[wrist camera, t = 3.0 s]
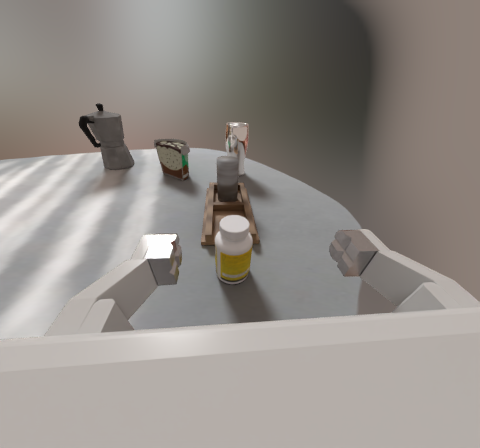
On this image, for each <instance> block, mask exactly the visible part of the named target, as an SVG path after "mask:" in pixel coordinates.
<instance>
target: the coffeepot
mask: <svg viewBox="0 0 480 448" xmlns="http://www.w3.org/2000/svg"><path fill="white" fill-rule="evenodd" d="M96 106H97V108H98V110H99V111H97V112H94V113H91V114H88V115H86V116H82V117H80V121H79V126H80V128H81V129H82V130H83V132H84V133H85V134H86V136H87V137H88V139H89V140H90V141H91V143H92V144H93V145H94V147H100V148H101V153H102V158H103V163H104V167H106V168H108V169H113V170H118V169H125V168H129V167H131V166H133V165H134V160H133V158H132V156H131V154H130V152H129V150H128V148H127V146H126V145H125V144H124V141H123V139H124V134H123V128H122V121H121V116H120V115H119V114H116V113H110V112H106V111H103V105H102V104H96ZM87 123H88V125H89V126H90V128H91V130H92V132H93V134H94V135H95V137H96V139H97V140H99V141H100V143H99V144H98V143H96V141H95V138H94V137H93V136H92V134H91V133H90V131H89V129H88V127H87Z"/></svg>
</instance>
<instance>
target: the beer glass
mask: <svg viewBox="0 0 480 448" xmlns="http://www.w3.org/2000/svg"><path fill="white" fill-rule="evenodd" d="M247 145H248V124H246V123H239V122H229V123H227V124H226V149H227V156H233V157H236V158H238V159H239V171H238V176H242V175H244V173H245V171H244V159H245V155H246V150H247Z"/></svg>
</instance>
